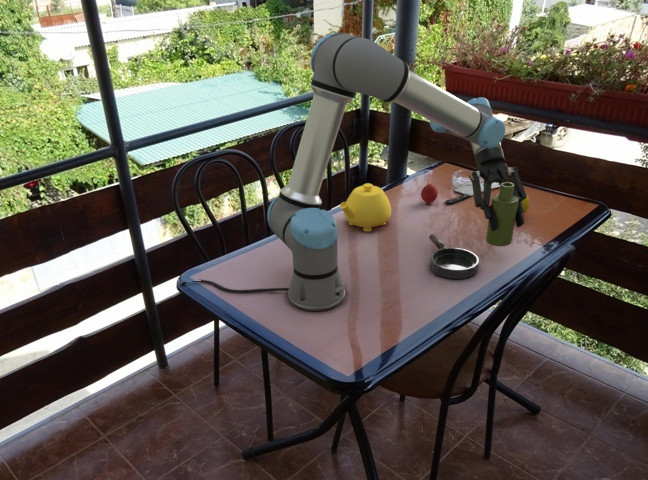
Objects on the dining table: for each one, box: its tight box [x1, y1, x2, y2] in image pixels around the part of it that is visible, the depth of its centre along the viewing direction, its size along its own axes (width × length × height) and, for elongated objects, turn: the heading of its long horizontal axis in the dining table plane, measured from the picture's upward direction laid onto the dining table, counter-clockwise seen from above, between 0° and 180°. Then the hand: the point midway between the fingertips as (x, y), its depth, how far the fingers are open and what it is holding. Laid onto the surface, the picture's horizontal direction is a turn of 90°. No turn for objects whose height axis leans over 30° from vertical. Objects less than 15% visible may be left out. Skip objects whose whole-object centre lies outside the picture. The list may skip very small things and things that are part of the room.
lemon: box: [521, 195, 530, 215], centre depth 184 cm, size 6×6×8 cm
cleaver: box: [445, 182, 501, 205], centre depth 205 cm, size 29×1×10 cm
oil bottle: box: [485, 182, 519, 247], centre depth 155 cm, size 7×7×17 cm
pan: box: [429, 247, 480, 280], centre depth 158 cm, size 13×13×3 cm
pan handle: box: [428, 233, 447, 250], centre depth 167 cm, size 2×10×2 cm, turn 10°
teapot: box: [339, 182, 392, 232], centre depth 182 cm, size 20×16×14 cm
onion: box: [420, 181, 439, 205], centre depth 196 cm, size 6×6×8 cm
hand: (507, 227), depth 153 cm, fingers closed on oil bottle, 7 cm apart
